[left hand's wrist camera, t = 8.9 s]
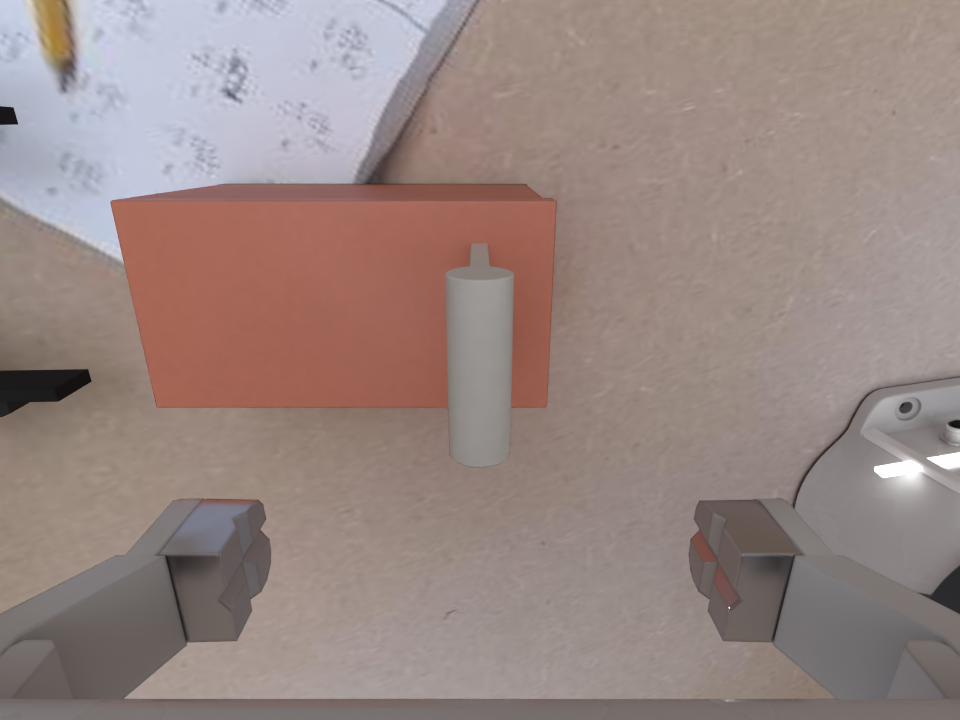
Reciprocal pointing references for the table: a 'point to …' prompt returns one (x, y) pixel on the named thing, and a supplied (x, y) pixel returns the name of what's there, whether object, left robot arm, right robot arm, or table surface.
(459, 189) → the chest
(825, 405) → the table surface
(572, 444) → the table surface
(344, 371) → the lid
